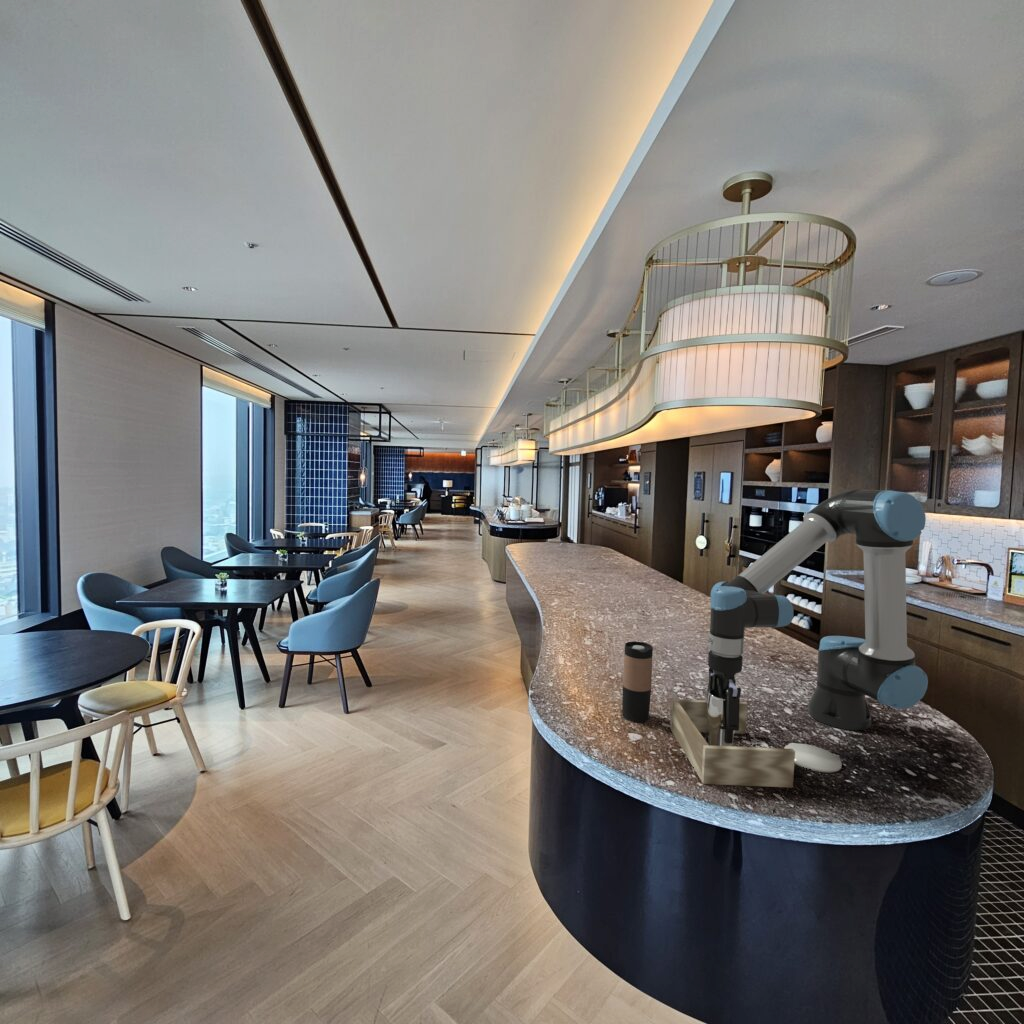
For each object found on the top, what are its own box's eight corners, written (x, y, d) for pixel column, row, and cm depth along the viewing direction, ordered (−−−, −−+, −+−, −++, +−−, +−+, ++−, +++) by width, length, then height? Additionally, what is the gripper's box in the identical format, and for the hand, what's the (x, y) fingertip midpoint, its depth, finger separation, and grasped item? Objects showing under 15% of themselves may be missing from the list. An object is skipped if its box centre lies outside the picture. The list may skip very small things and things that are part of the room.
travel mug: (629, 708, 151) (632, 639, 150) (654, 716, 146) (657, 645, 145) (616, 716, 145) (619, 645, 144) (642, 725, 140) (645, 652, 139)
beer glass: (704, 758, 124) (707, 696, 123) (704, 744, 131) (707, 686, 130) (736, 765, 122) (739, 702, 121) (735, 750, 128) (738, 690, 127)
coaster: (822, 746, 132) (823, 744, 132) (853, 773, 120) (853, 771, 120) (774, 744, 132) (774, 742, 132) (799, 771, 120) (800, 768, 120)
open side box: (743, 731, 139) (745, 701, 138) (792, 787, 114) (795, 751, 113) (670, 728, 139) (671, 699, 138) (703, 783, 114) (705, 748, 113)
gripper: (696, 639, 134) (691, 727, 136) (725, 666, 115) (719, 768, 117) (725, 640, 134) (720, 728, 136) (759, 667, 115) (753, 769, 117)
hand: (720, 746), depth 126 cm, fingers closed on beer glass, 6 cm apart
